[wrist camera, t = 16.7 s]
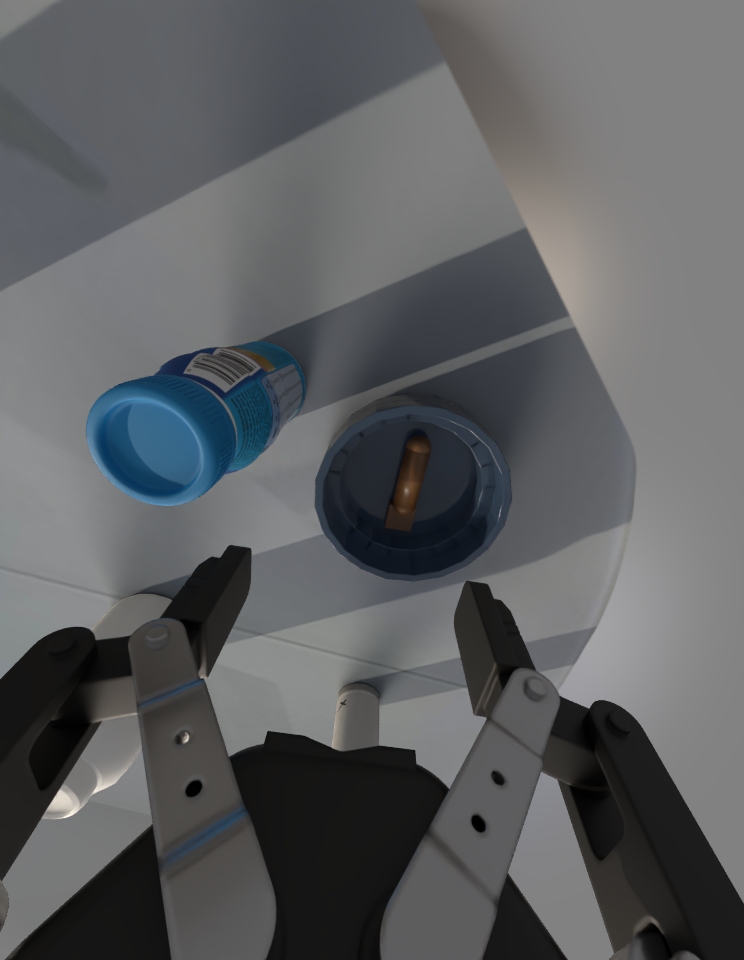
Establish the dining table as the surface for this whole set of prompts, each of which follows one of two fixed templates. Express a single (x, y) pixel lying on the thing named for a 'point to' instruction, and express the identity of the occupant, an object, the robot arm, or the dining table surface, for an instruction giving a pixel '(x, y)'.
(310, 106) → the dining table surface
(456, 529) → the bowl
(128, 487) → the beverage bottle
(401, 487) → the brown rounded bar
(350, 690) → the travel mug
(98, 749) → the can
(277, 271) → the dining table surface
